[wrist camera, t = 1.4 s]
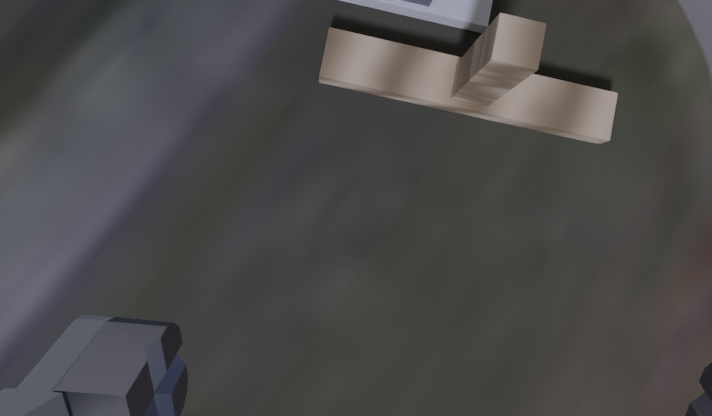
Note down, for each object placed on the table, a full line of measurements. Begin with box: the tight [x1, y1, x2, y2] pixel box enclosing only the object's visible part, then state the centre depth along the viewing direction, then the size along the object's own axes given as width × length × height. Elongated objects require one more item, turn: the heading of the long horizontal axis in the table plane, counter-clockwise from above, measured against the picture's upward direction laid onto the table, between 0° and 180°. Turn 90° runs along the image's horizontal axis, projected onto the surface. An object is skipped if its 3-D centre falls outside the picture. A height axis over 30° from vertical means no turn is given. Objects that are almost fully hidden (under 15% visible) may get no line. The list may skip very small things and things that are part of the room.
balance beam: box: [319, 13, 618, 144], centre depth 40 cm, size 24×4×12 cm, turn 79°
